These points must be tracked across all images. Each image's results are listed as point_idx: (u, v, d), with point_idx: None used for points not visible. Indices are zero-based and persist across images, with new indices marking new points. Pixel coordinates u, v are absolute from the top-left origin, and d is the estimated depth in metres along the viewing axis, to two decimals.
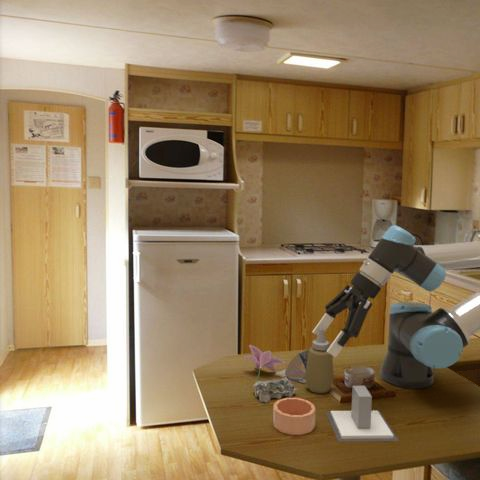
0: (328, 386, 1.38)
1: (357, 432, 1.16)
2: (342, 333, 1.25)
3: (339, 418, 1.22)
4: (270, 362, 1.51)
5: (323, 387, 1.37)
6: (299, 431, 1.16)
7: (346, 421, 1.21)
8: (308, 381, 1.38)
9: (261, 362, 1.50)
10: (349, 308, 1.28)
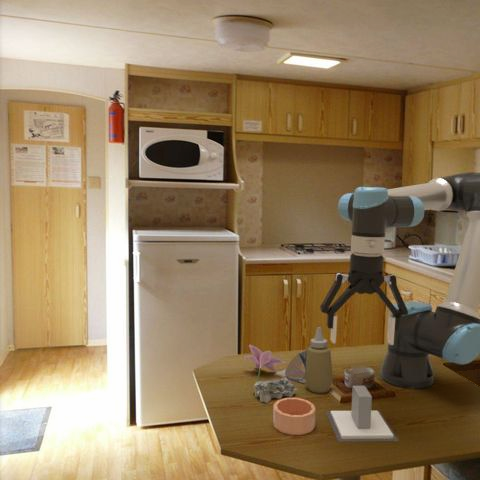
0: (328, 385, 1.38)
1: (357, 432, 1.16)
2: (394, 319, 1.17)
3: (339, 418, 1.22)
4: (270, 362, 1.51)
5: (323, 386, 1.37)
6: (299, 431, 1.16)
7: (346, 421, 1.21)
8: (308, 380, 1.39)
9: (261, 362, 1.50)
10: (381, 294, 1.15)
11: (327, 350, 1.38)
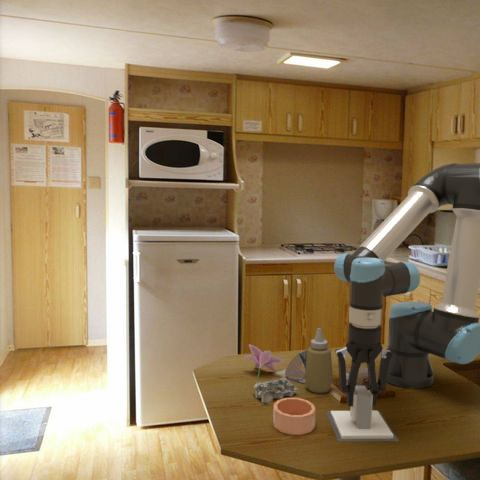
0: (327, 385, 1.38)
1: (357, 432, 1.16)
2: (372, 396, 1.19)
3: (339, 418, 1.22)
4: (270, 361, 1.51)
5: (322, 387, 1.37)
6: (299, 431, 1.16)
7: (346, 421, 1.21)
8: (307, 381, 1.39)
9: (261, 362, 1.50)
10: (372, 367, 1.17)
11: (327, 351, 1.38)
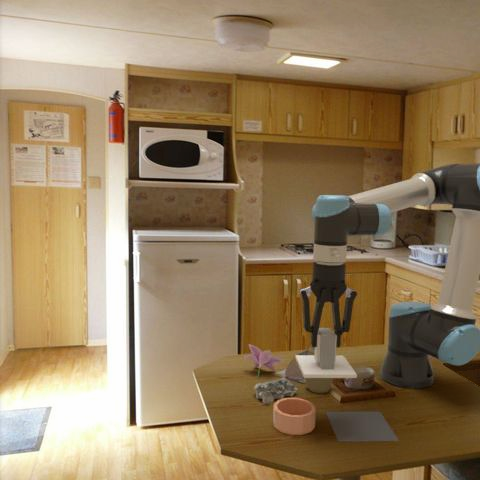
0: (327, 386, 1.38)
1: (320, 372, 1.14)
2: (336, 336, 1.17)
3: (304, 361, 1.20)
4: (269, 361, 1.51)
5: (322, 387, 1.37)
6: (299, 431, 1.16)
7: (310, 363, 1.19)
8: (307, 380, 1.39)
9: (261, 361, 1.50)
10: (336, 306, 1.15)
11: None
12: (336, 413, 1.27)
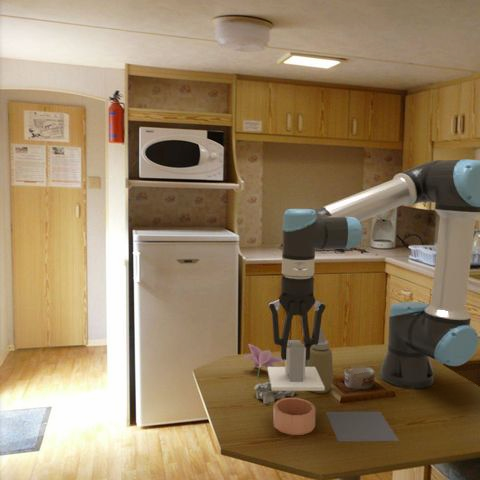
0: (327, 386, 1.38)
1: (288, 384, 1.15)
2: (305, 349, 1.17)
3: (274, 373, 1.21)
4: (269, 361, 1.51)
5: None
6: (299, 431, 1.16)
7: (280, 375, 1.20)
8: None
9: (260, 361, 1.50)
10: (304, 319, 1.16)
11: (328, 352, 1.38)
12: (336, 413, 1.27)
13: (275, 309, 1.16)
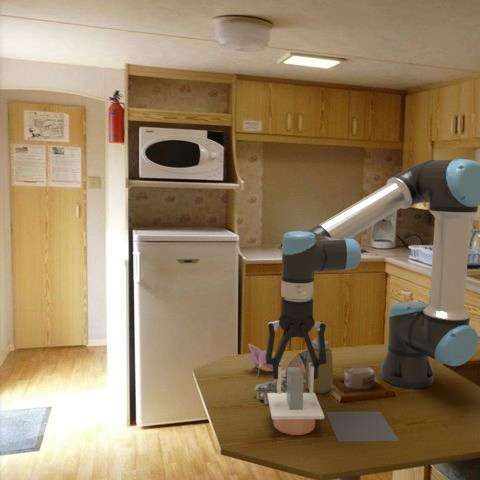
0: (327, 386, 1.38)
1: (288, 413, 1.16)
2: (313, 368, 1.18)
3: (274, 400, 1.22)
4: None
5: (322, 387, 1.37)
6: (299, 431, 1.16)
7: (280, 402, 1.21)
8: (307, 381, 1.39)
9: (260, 361, 1.50)
10: (307, 340, 1.17)
11: (328, 352, 1.38)
12: (336, 413, 1.27)
13: (273, 329, 1.16)
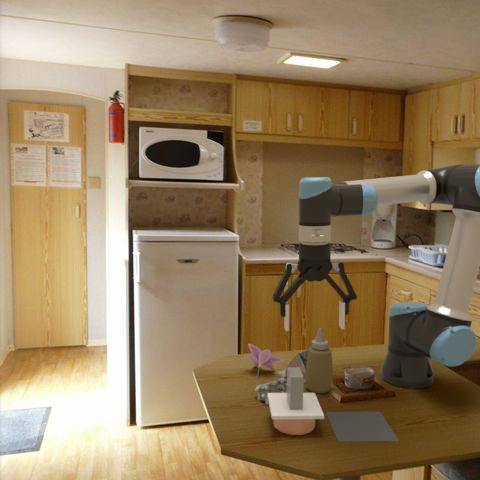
0: (327, 386, 1.38)
1: (288, 413, 1.16)
2: (344, 304, 1.21)
3: (274, 400, 1.22)
4: (269, 360, 1.52)
5: (322, 387, 1.37)
6: (299, 431, 1.16)
7: (280, 402, 1.21)
8: (307, 381, 1.39)
9: (260, 361, 1.51)
10: (330, 281, 1.19)
11: (328, 352, 1.38)
12: (336, 413, 1.27)
13: (291, 270, 1.18)
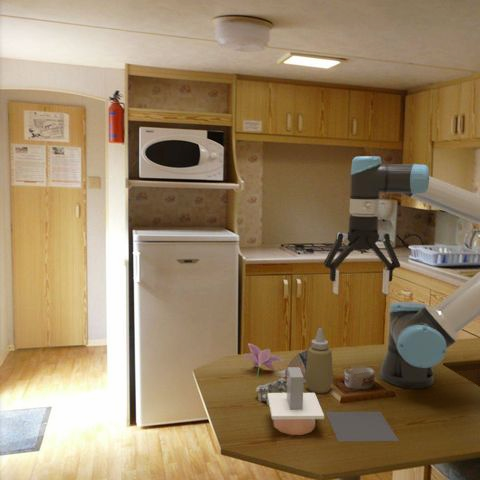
0: (327, 386, 1.38)
1: (288, 413, 1.16)
2: (388, 271, 1.34)
3: (274, 400, 1.22)
4: (269, 360, 1.52)
5: (322, 387, 1.37)
6: (299, 431, 1.16)
7: (280, 402, 1.21)
8: (307, 381, 1.39)
9: (260, 360, 1.51)
10: (376, 250, 1.33)
11: (328, 351, 1.38)
12: (336, 413, 1.27)
13: (342, 239, 1.32)
